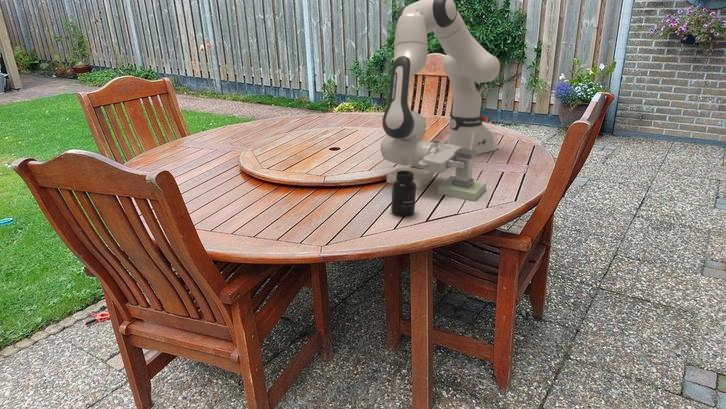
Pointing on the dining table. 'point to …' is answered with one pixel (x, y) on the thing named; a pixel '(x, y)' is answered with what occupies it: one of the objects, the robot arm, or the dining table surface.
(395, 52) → the robot arm
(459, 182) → the post
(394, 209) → the supplement bottle
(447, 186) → the stand
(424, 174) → the stand
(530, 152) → the dining table surface
